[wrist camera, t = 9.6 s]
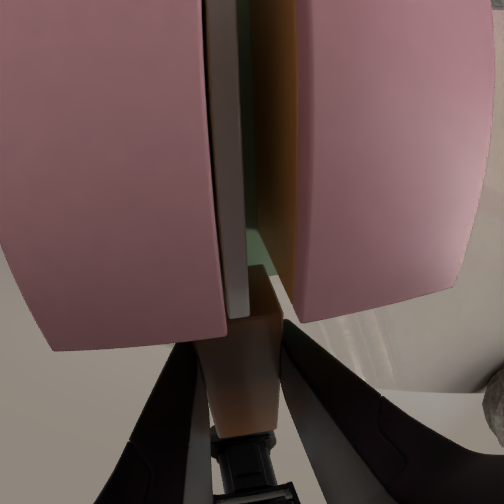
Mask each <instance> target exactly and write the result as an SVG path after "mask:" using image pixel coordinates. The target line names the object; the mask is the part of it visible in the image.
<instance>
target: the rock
mask: <svg viewBox="0 0 504 504" xmlns="http://www.w3.org/2000/svg"><path fill="white" fill-rule="evenodd" d="M482 406H483V410H484V414H485V418H486V421H487V423H488V425H489V428H490V429H491V430H492V432H493V433H494V434H495V435H496V437H497V438H498V441H499V443H500V445H501V446H502V447H504V368H503V369H501V370H499V371H498V372H497V373H496V374H495V375H494V376H492V377H491V378H490V380H489V383H488V386H487V389H486V392H485V395H484V399H483V402H482Z"/></svg>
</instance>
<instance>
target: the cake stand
mask: <svg viewBox="0 0 504 504" xmlns="http://www.w3.org/2000/svg"><path fill="white" fill-rule="evenodd" d="M236 11H237V37H238V63H239V87H240V111H241V135H242V158H243V180H244V202H245V223H246V244H247V265H248V266H250V265H257V264H263V265H264V266H265V269H266V271H267V274H268V276H273V275H278V273H277V271H276V269H275V267H274V265H273V262H272V260H271V258H270V256H269V254H268V252H267V249H266V247H265V245H264V243H263V241H262V239H261V236H260V234H259V232H258V226H257V192H256V160H255V130H254V101H253V73H252V46H251V21H250V0H236Z"/></svg>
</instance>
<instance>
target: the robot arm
mask: <svg viewBox="0 0 504 504" xmlns="http://www.w3.org/2000/svg"><path fill="white" fill-rule="evenodd" d="M279 379H280V383H281V387H282V390H283V394H284V398H285V401H286V404H287V406H288V409H289V411H290V414H291V416H292V419H293V421H294V424H295V426H296V429H297V431H298V434H299V436H300V439H301V441H302V444H303V446H304V449H305V451H306V454H307V456H308V459H309V461H310V463H311V466H312V468H313V470H314V473H315V476H316V478H317V480H318V483H319V485H320V487H321V490H322V492H323V495H324V497H325V499H326V502H327V504H504V455H490V454H482V453H477V452H474V451H471V450H468V449H466V448H464V447H462V446H460V445H458V444H456V443H454V442H453V441H451V440H449V439H447V438H446V437H444V436H442V435H440V434H439V433H437V432H435V431H434V430H432V429H430V428H428V427H427V426H425V425H423V424H422V423H420V422H419V421H417V420H415V419H414V418H412V417H411V416H409V415H408V414H406V413H405V412H404V411H402V410H401V409H400V408H398V407H397V406H395V405H394V404H393V403H391V402H390V401H389V400H388V399H386V398H385V397H384V396H381V394H380V393H379V392H377V391H376V390H375V389H374V388H372V387H371V386H370V385H368V384H367V383H366V382H365V381H363V380H362V379H361V378H360V377H358V376H357V375H356V374H355V373H353V372H352V371H351V370H350V369H348V368H347V367H346V366H345V365H343V364H342V363H341V362H340V361H339V360H337V359H336V358H335V357H334V356H332V355H331V354H330V353H329V352H327V351H326V350H325V349H324V348H323V347H321V346H320V345H319V344H318V343H316V342H315V341H314V340H313V339H312V338H310V337H309V336H308V335H307V334H305V333H304V332H303V331H302V330H301V329H299V328H298V327H297V326H296V325H295V324H293V323H292V322H291V321H290V320H288V319H283V337H282V342H281V358H280V377H279ZM209 421H210V420H209V406H208V399H207V393H206V388H205V384H204V380H203V376H202V372H201V368H200V364H199V360H198V356H197V354H196V352H195V349H194V345H193V341H187V342H179V343H175V345H174V347H173V349H172V351H171V353H170V355H169V357H168V360H167V361H166V363H165V365H164V367H163V369H162V371H161V374H160V376H159V378H158V380H157V382H156V384H155V386H154V388H153V390H152V392H151V394H150V396H149V398H148V400H147V402H146V404H145V406H144V408H143V411H142V413H141V415H140V417H139V419H138V421H137V423H136V425H135V427H134V429H133V432H132V434H131V436H130V438H129V440H130V442H127V444H126V446H125V448H124V451H123V453H122V455H121V457H120V459H119V461H118V463H117V465H116V467H115V469H114V471H113V473H112V474H111V476H110V478H109V479H108V481H107V483H106V484H105V486H104V488H103V490H102V491H101V493H100V494H99V496H98V497H97V499H96V501H95V502H94V503H93V504H301V503H300V501H299V498H298V496H297V493H296V491H295V488H294V485H293V483H292V482H288V483H286V484H282V485H277V481H276V478H275V474H274V470H273V466H272V463H271V459H270V451H271V435H270V434H269V433H265V434H260V435H255V436H249V437H243V438H236V439H230V440H222V441H215V442H211V448H212V451H213V453H214V456H215V458H216V461H217V463H218V464H219V465H220V470H221V476H222V482H223V487H224V493H225V494H222V495H213V491H212V471H211V449H210V422H209Z"/></svg>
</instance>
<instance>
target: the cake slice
mask: <svg viewBox="0 0 504 504" xmlns="http://www.w3.org/2000/svg"><path fill="white" fill-rule="evenodd" d="M0 244H1V247H2V250H3V252H4V255H5V257H6V260H7V262H8V264H9V267H10V269H11V272H12V274H13V276H14V278H15V281H16V283H17V285H18V287H19V289H20V291H21V293H22V296H23V297H24V300H25V302H26V303H27V306H28V308H29V310H30V312H31V313H32V315H33V317H34V319H35V321H36V323H37V325H38V327H39V328H40V330H41V332H42V333H43V335H44V337H45V339H46V340H47V342H48V344H49V346H50V347H51V349H52V350H53V351H79V350H99V349H113V348H126V347H139V346H149V345H160V344H169V343H179V342H187V341H195V340H203V339H211V338H218V337H225V336H226V335H227V324H226V315H225V307H224V298H223V290H222V281H221V271H220V262H219V253H218V243H217V233H216V222H215V212H214V201H213V190H212V178H211V166H210V153H209V140H208V126H207V111H206V95H205V78H204V59H203V37H202V10H201V0H0Z"/></svg>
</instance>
